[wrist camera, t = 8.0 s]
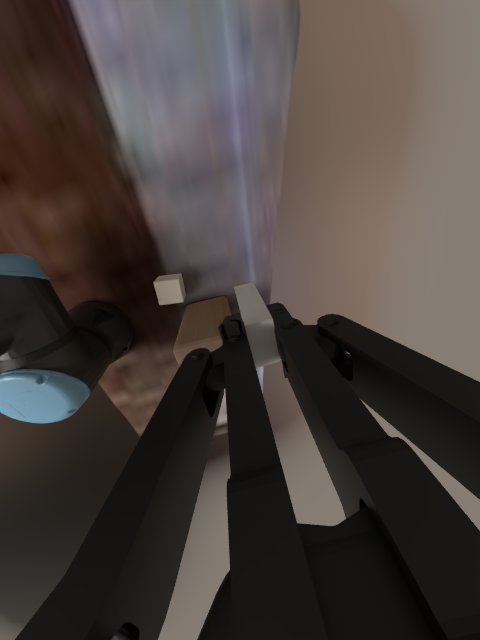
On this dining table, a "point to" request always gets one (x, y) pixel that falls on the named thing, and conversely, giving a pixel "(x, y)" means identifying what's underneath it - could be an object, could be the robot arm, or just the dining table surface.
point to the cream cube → (170, 289)
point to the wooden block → (201, 326)
